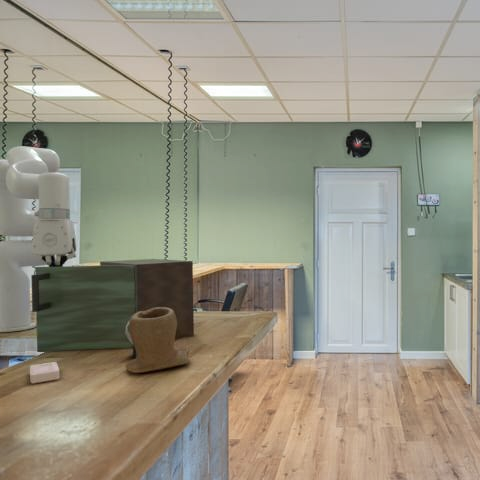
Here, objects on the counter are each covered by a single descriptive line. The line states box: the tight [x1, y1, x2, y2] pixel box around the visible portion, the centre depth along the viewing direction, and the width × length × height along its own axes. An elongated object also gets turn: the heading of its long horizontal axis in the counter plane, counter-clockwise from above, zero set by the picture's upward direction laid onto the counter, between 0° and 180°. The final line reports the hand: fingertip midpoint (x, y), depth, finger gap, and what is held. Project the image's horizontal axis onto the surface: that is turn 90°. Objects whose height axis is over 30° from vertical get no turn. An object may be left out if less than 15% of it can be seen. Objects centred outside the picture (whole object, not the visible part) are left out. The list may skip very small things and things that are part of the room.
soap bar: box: [29, 361, 60, 385], centre depth 107 cm, size 5×9×2 cm, turn 37°
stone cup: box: [124, 307, 190, 374], centre depth 113 cm, size 15×12×15 cm
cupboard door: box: [30, 265, 135, 352], centre depth 130 cm, size 8×26×24 cm, turn 98°
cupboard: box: [99, 258, 195, 340], centre depth 151 cm, size 18×26×24 cm
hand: (56, 278), depth 134 cm, fingers closed
